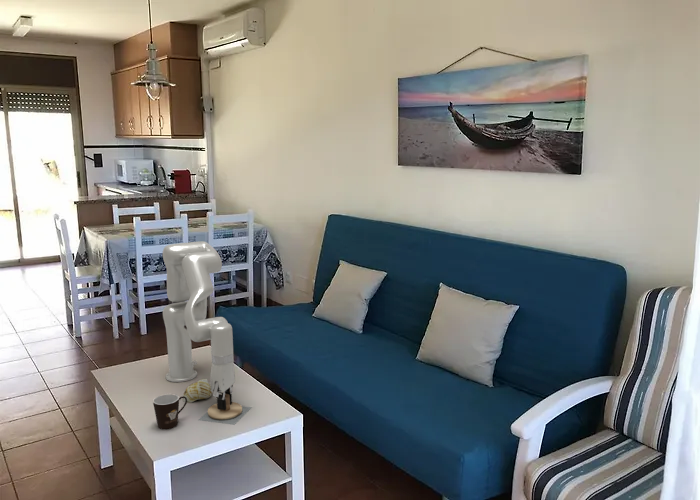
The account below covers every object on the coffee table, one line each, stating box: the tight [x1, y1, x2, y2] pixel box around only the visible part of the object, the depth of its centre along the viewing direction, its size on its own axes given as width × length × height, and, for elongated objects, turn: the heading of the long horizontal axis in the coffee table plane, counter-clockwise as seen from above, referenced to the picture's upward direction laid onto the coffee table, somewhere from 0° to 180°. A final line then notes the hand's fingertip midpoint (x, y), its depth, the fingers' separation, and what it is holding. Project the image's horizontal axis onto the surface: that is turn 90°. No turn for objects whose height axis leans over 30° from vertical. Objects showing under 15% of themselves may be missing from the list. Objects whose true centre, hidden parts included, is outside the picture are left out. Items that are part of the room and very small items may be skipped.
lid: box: [207, 393, 243, 420], centre depth 210 cm, size 12×12×6 cm
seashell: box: [182, 378, 213, 404], centre depth 223 cm, size 10×10×10 cm
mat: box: [198, 405, 253, 426], centre depth 210 cm, size 14×14×1 cm
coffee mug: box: [152, 393, 187, 431], centre depth 202 cm, size 12×9×10 cm
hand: (224, 406), depth 210 cm, fingers closed on lid, 3 cm apart
